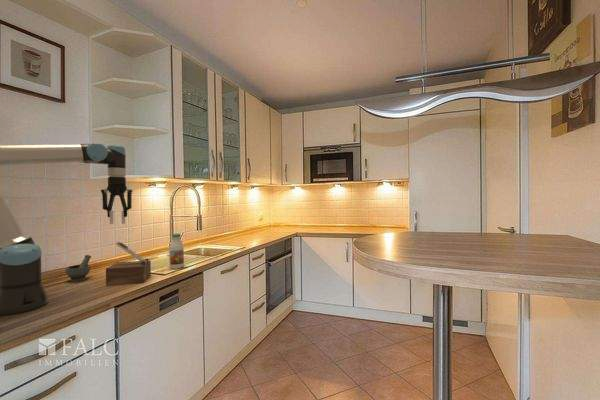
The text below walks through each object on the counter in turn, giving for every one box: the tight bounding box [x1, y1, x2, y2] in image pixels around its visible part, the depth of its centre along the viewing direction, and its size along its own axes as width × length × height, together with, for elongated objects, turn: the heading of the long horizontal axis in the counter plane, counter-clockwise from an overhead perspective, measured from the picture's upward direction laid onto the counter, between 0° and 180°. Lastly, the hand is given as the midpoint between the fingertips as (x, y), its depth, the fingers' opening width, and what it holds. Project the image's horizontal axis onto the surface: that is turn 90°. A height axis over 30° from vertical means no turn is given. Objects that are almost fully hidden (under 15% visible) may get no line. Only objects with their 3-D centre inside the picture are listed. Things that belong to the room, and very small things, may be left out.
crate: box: [105, 258, 152, 287], centre depth 143 cm, size 14×17×10 cm
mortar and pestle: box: [65, 254, 92, 283], centre depth 145 cm, size 11×9×12 cm
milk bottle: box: [168, 233, 185, 270], centre depth 168 cm, size 8×8×20 cm
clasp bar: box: [115, 241, 147, 262], centre depth 144 cm, size 4×17×1 cm
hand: (117, 223), depth 142 cm, fingers open, 4 cm apart
